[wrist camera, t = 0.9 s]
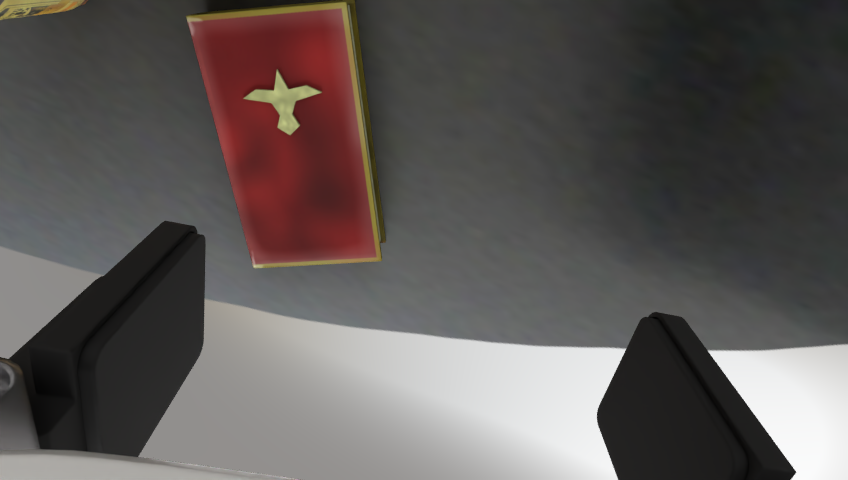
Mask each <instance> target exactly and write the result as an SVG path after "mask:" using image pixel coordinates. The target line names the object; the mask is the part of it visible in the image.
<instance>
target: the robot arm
mask: <svg viewBox="0 0 848 480" xmlns="http://www.w3.org/2000/svg"><path fill="white" fill-rule="evenodd" d="M204 292H205V237H204V235H200V234H197V230H196V228H195V226H190V225H185V224H180V223H174V222H169V221H164V222H162V223H161V224H160V225H159V226H158V227H157V228H156V229H155V230H154V231H152V232H151V233H150V234H149V235H148V236H147V237H146V238H145V239H144V240H143V241H142V242H140V243H139V244H138V245H137V246H136V247H135V248H134V249H133V250H132V251H131V252H130V253H129V254H127V255H126V256H125V257H124V258H123V259H122V260H121V261H120V262H119V263H118V264H117V265H115V266H114V267H113V268H112V269H111V270H110V271H109V272H108V273H107V274H106V275H105V276H101V277H100V278H98V279H97V280H95V281H94V282H93V283H92V284H91V285H90V286H89V287H87V288H86V289H85V290H84V291H83V292H82V293H81V294H80V295H79V296H78V297H76V298H75V299H74V300H73V301H72V302H71V303H70V304H69V305H68V306H67V307H65V308H64V309H63V310H62V311H61V312H60V313H59V314H58V315H57V316H56V317H54V318H53V319H52V320H51V321H50V322H49V323H48V324H47V325H46V326H45V327H43V328H42V329H41V330H40V331H39V332H38V333H37V334H36V335H35V336H34V337H33V338H32V339H30V340H29V341H28V342H27V343H26V344H25V345H24V346H22V347H21V348H20V349H19V350H18V351H17V352H16V353H15V354H14V355H13V356H12V357H10V358H9V359H5V358H1V357H0V480H299V479H293V478H287V477H280V476H273V475H266V474H259V473H252V472H244V471H238V470H231V469H224V468H217V467H210V466H202V465H195V464H188V463H181V462H173V461H166V460H159V459H149V458H141V457H138V456H139V454H140V452H141V451H142V449H143V448H144V446H145V444H146V443H147V441H148V439H149V438H150V436H151V435H152V433H153V431H154V429H155V428H156V426H157V425H158V423H159V421H160V420H161V418H162V417H163V415H164V413H165V411H166V410H167V408H168V407H169V405H170V403H171V402H172V400H173V399H174V397H175V395H176V394H177V392H178V390H179V389H180V387H181V385H182V384H183V382H184V380H185V379H186V377H187V375H188V374H189V372H190V371H191V369H192V367H193V366H194V364H195V362H196V361H197V359H198V357H199V355H200V353H201V350H202V346H203V339H204ZM597 422H598V426H599V428H600V431H601V434H602V437H603V439H604V442H605V444H606V447H607V450H608V452H609V455H610V458H611V461H612V464H613V466H614V469H615V472H616V474H617V477H618V480H790V479H791V478H792V477H793V476H794V475H795V473H796V471H795V470H794V469H793V467H792V466H791V464H790V463H789V462H788V460H787V459H786V458H785V456H784V455H783V454H782V452H781V451H780V449H779V448H778V447H777V445H776V444H775V442H773V440H772V438H771V437H770V436H769V434H768V433H767V432H766V430H765V429H764V428H763V426H762V425H761V423H760V422H759V421H758V419H757V418H756V416H755V415H754V414H753V412H752V411H751V410H750V408H749V407H748V406H747V404H746V403H745V401H744V400H743V399H742V397H741V396H740V395H739V393H738V392H737V391H736V389H735V388H734V386H733V385H732V384H731V382H730V381H729V380H728V378H727V377H726V375H725V374H724V373H723V372H722V370H721V369H720V367H719V366H718V365H717V363H716V362H715V361H714V359H713V358H712V356H711V355H710V354H709V353H708V351H707V349H706V348H705V347H704V345H703V344H702V343H701V341H700V340H699V339H698V337H697V336H696V334H695V333H694V332H693V330H692V329H691V328H690V326H689V325H688V323H687V322H686V321H685V320H684V319H683V318H682V317H679V316H674V315H668V314H663V313H658V312H654V313H652V314H651V315H649V317H644V318H642V319H641V320H640V322H639V324H638V326H637V328H636V330H635V332H634V334H633V336H632V339H631V341H630V343H629V345H628V347H627V349H626V351H625V353H624V355H623V357H622V360H621V361H620V364H619V366H618V368H617V370H616V372H615V374H614V376H613V378H612V380H611V382H610V384H609V387H608V389H607V391H606V393H605V395H604V397H603V399H602V401H601V403H600V405H599V408H598V412H597Z"/></svg>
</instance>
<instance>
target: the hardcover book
mask: <svg viewBox="0 0 848 480" xmlns="http://www.w3.org/2000/svg"><path fill="white" fill-rule="evenodd" d="M186 18H187V22H188V25H189V29H190V33H191V37H192V40H193V44H194V48H195V52H196V55H197V59H198V63H199V66H200V70H201V74H202V78H203V81H204V85H205V89H206V93H207V96H208V100H209V104H210V108H211V111H212V115H213V119H214V123H215V126H216V130H217V134H218V137H219V141H220V145H221V149H222V152H223V156H224V160H225V164H226V167H227V171H228V175H229V179H230V182H231V186H232V190H233V194H234V197H235V201H236V205H237V209H238V212H239V216H240V220H241V223H242V227H243V231H244V235H245V238H246V242H247V246H248V250H249V253H250V257H251V261H252V265H253V267H254V268H269V267H287V266H304V265H321V264H339V263H356V262H373V261H382V255H381V247H380V243H384V242H386V239H385V231H384V224H383V216H382V208H381V200H380V193H379V185H378V177H377V170H376V162H375V154H374V146H373V139H372V131H371V123H370V116H369V108H368V100H367V92H366V85H365V77H364V69H363V62H362V54H361V46H360V38H359V31H358V23H357V15H356V8H355V0H337V1H325V2H314V3H303V4H292V5H280V6H269V7H258V8H247V9H235V10H224V11H213V12H204V13H197V14H192V15H187V16H186Z"/></svg>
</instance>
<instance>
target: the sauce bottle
mask: <svg viewBox="0 0 848 480" xmlns="http://www.w3.org/2000/svg"><path fill="white" fill-rule="evenodd" d="M87 1H88V0H0V20H5V19H12V18H19V17H26V16H33V15H41V14H48V13H55V12H62V11H68V10H71V9H74V8H76V7H77V6H81V5H84V4H85V3H86V2H87Z"/></svg>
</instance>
